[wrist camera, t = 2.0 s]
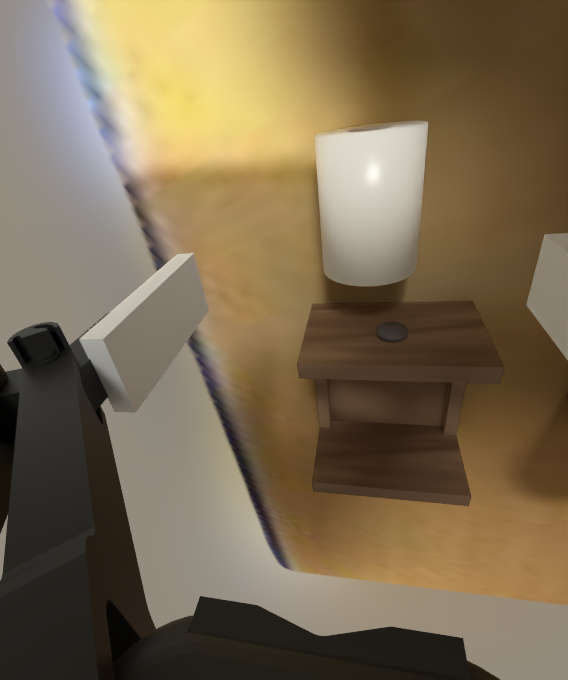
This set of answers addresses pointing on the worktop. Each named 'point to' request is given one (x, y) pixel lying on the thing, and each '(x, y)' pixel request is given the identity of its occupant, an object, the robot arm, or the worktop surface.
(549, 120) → the worktop surface
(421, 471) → the holder
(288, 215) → the worktop surface
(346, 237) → the roll
